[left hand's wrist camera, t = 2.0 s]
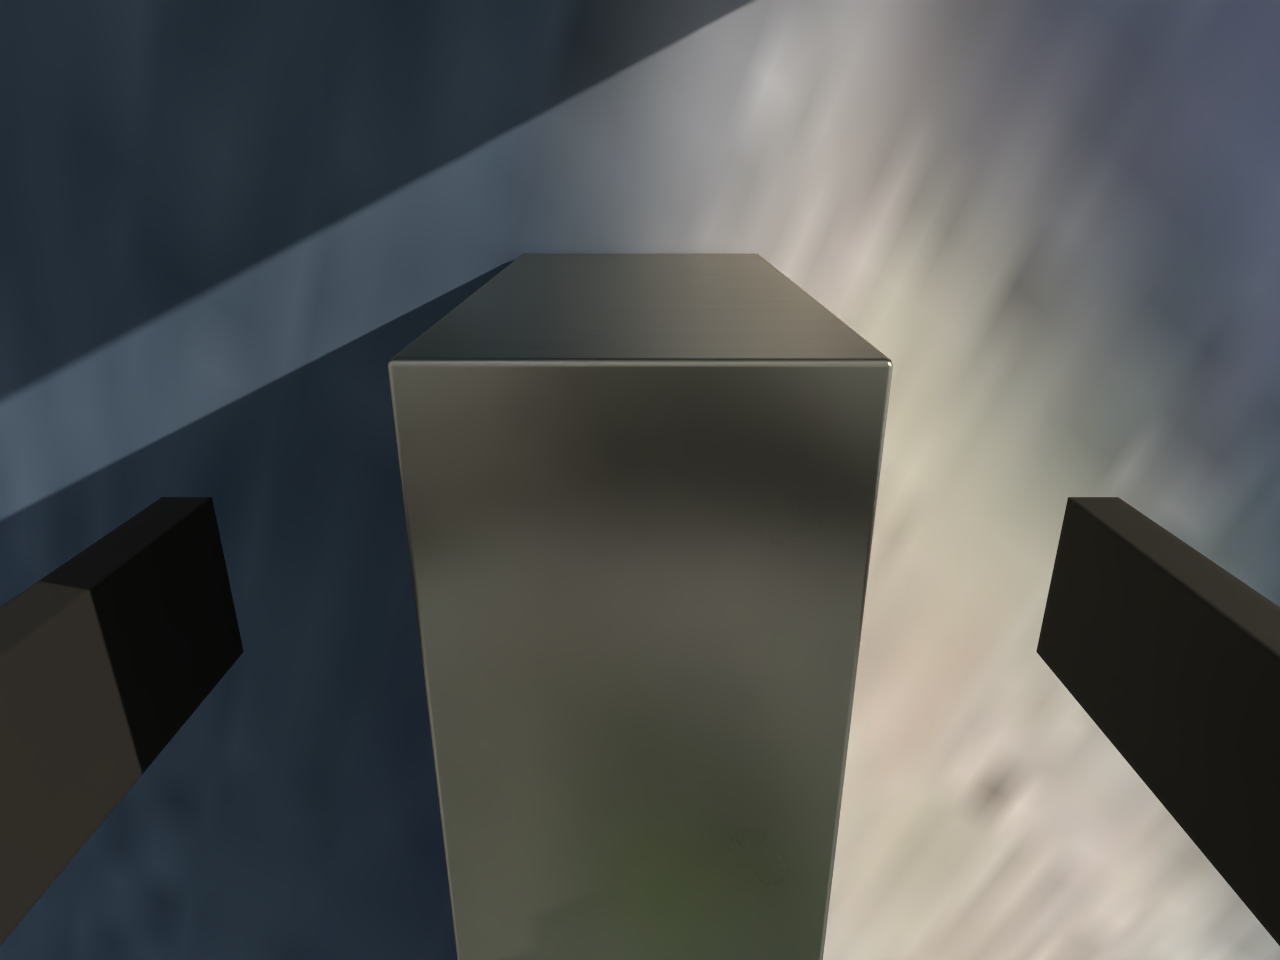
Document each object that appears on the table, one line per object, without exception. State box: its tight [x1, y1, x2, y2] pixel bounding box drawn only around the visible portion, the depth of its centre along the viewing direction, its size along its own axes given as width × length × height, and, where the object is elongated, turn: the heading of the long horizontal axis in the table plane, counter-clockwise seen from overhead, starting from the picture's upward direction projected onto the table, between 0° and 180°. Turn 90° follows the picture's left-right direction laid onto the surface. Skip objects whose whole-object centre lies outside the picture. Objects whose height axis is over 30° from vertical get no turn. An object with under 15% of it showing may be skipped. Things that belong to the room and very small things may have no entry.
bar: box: [387, 254, 893, 960], centre depth 16 cm, size 25×4×9 cm, turn 0°
